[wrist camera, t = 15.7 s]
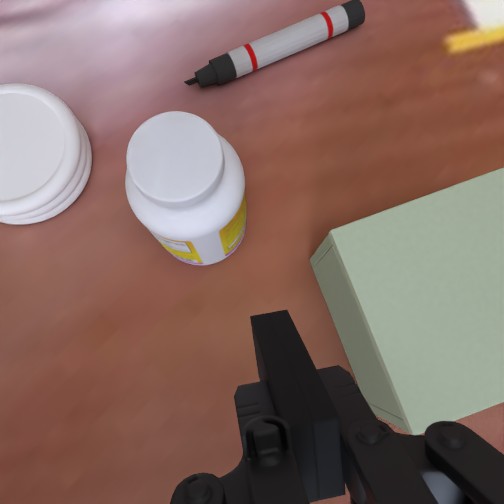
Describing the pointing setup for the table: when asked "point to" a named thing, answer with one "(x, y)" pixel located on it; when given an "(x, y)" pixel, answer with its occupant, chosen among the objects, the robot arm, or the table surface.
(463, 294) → the lid
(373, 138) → the table surface
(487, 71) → the table surface
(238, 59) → the marker
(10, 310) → the table surface
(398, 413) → the chest
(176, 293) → the table surface
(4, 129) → the coaster
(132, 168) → the supplement bottle
